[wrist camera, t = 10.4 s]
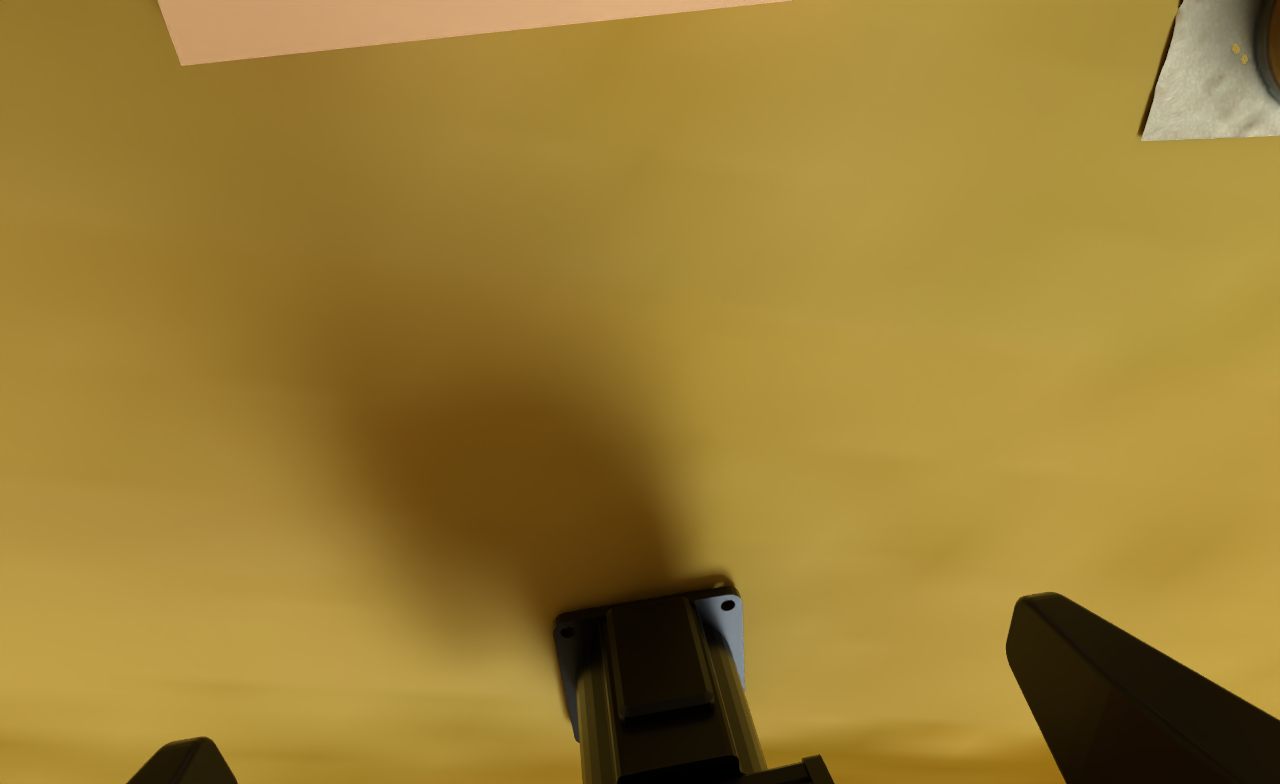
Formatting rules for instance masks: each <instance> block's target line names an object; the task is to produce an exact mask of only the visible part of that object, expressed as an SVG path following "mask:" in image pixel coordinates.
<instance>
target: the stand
mask: <svg viewBox="0 0 1280 784" xmlns="http://www.w3.org/2000/svg"><path fill="white" fill-rule="evenodd" d="M157 1H158V3H159V6H160V9H161V12H162V14H163V17H164V20H165V22H166V25H167V28H168V31H169V33H170V36H171V39H172V42H173V44H174V47H175V50H176V53H177V55H178V58H179V61H180V63H181V66H185V65H194V64H203V63H213V62H222V61H231V60H241V59H250V58H259V57H269V56H278V55H287V54H297V53H306V52H315V51H324V50H334V49H343V48H352V47H362V46H371V45H380V44H390V43H399V42H408V41H418V40H427V39H436V38H446V37H455V36H464V35H474V34H483V33H492V32H501V31H511V30H520V29H529V28H539V27H548V26H557V25H567V24H576V23H585V22H595V21H604V20H613V19H623V18H632V17H641V16H651V15H660V14H669V13H678V12H688V11H697V10H706V9H716V8H725V7H734V6H744V5H753V4H762V3H772V2H781V1H790V0H157Z"/></svg>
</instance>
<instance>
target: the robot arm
mask: <svg viewBox="0 0 1280 784" xmlns="http://www.w3.org/2000/svg"><path fill="white" fill-rule="evenodd" d="M727 600H730V601H728V602H724V601H727ZM565 627H572V628H569V629H564V628H565ZM553 636H554V641H555V646H556V651H557V655H558V660H559V665H560V670H561V675H562V679H563V684H564V689H565V694H566V699H567V703H568V708H569V713H570V718H571V722H572V727H573V732H574V737H575V739H576V741H577V742H579V743H580V752H581V766H582V780H583V784H834V782H833V780H832V778H831V776H830V774H829V772H828V770H827V767H826V765H825V763H824V761H823V759H822V757H821V755H820V754H819V755H814V756H810V757H806V758H802V762H799V763H794V764H790V765H786V766H781V767H777V768H772V769H768V768H767V765H766V762H765V759H764V755H763V752H762V749H761V746H760V742H759V739H758V736H757V733H756V729H755V726H754V723H753V720H752V716H751V713H750V710H749V706H748V703H747V700H746V697H745V685H744V647H743V609H742V600H741V597H740V595H739V592H738V590H737V589H736V588H734V587H731V586H725V587H719V588H713V589H707V590H701V591H695V592H689V593H683V594H677V595H671V596H665V597H658V598H652V599H646V600H640V601H634V602H628V603H622V604H616V605H610V606H604V607H598V608H592V609H586V610H580V611H574V612H568V613H564V614H560V615H559V616H557V617H556V618H555V619H554V621H553ZM1006 654H1007V659H1008V662H1009V665H1010V667H1011V670H1012V672H1013V674H1014V676H1015V678H1016V680H1017V682H1018V684H1019V686H1020V688H1021V691H1022V693H1023V695H1024V697H1025V699H1026V701H1027V703H1028V705H1029V707H1030V709H1031V711H1032V713H1033V716H1034V718H1035V720H1036V722H1037V724H1038V726H1039V728H1040V730H1041V732H1042V734H1043V736H1044V739H1045V741H1046V743H1047V745H1048V747H1049V749H1050V751H1051V753H1052V755H1053V757H1054V759H1055V761H1056V764H1057V766H1058V768H1059V770H1060V772H1061V774H1062V776H1063V778H1064V780H1065V782H1066V784H1280V720H1278V719H1277V718H1275V717H1273V716H1271V715H1270V714H1268V713H1266V712H1265V711H1263V710H1261V709H1259V708H1258V707H1256V706H1254V705H1252V704H1251V703H1249V702H1247V701H1245V700H1244V699H1242V698H1240V697H1238V696H1237V695H1235V694H1233V693H1232V692H1230V691H1228V690H1226V689H1225V688H1223V687H1221V686H1219V685H1218V684H1216V683H1214V682H1212V681H1211V680H1209V679H1207V678H1206V677H1204V676H1202V675H1200V674H1199V673H1197V672H1195V671H1193V670H1192V669H1190V668H1188V667H1186V666H1185V665H1183V664H1181V663H1179V662H1178V661H1176V660H1174V659H1173V658H1171V657H1169V656H1167V655H1166V654H1164V653H1162V652H1160V651H1159V650H1157V649H1155V648H1153V647H1152V646H1150V645H1148V644H1146V643H1145V642H1143V641H1141V640H1140V639H1138V638H1136V637H1134V636H1133V635H1131V634H1129V633H1127V632H1126V631H1124V630H1122V629H1120V628H1119V627H1117V626H1115V625H1114V624H1112V623H1110V622H1108V621H1107V620H1105V619H1103V618H1101V617H1100V616H1098V615H1096V614H1094V613H1093V612H1091V611H1089V610H1087V609H1086V608H1084V607H1082V606H1081V605H1079V604H1077V603H1075V602H1074V601H1072V600H1070V599H1068V598H1067V597H1065V596H1063V595H1061V594H1058V593H1055V592H1044V593H1038V594H1032V595H1027V596H1023V597H1020V598H1019V600H1018V601H1017V602H1016V604H1015V607H1014V611H1013V616H1012V620H1011V624H1010V629H1009V633H1008V637H1007V642H1006ZM126 784H238V783H237V780H236V778H235V776H234V775H233V773H232V771H231V770H230V768H229V766H228V765H227V763H226V761H225V760H224V758H223V756H222V754H221V753H220V751H219V749H218V748H217V746H216V744H215V743H214V742H213V740H211V739H209V738H207V737H196V738H190V739H184V740H178V741H174V742H170V743H168V744H166V745H164V746H163V747H162V748H160V749H159V750H158V751H157V752H156V753H155V754H154V755H153V756H152V757H151V758H150V759H149V760H148V761H147V762H146V763H145V764H144V765H143V766H142V767H141V768H140V770H139V771H138V772H137V773H136V774H135V775H134V776H133V777H132V778H131V779H130V780H129V781H128V782H127V783H126Z"/></svg>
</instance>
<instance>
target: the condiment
mask: <svg viewBox="0 0 1280 784" xmlns="http://www.w3.org/2000/svg"><path fill="white" fill-rule="evenodd" d="M1235 42H1236V43H1237V44H1238V45H1239V47H1240V53H1239V54H1237V55H1236V54H1235V53H1234V52H1233V51H1232V46H1233V43H1235ZM1244 54H1246V55H1247V57H1248V61H1247V63H1246V64H1242V61H1241V57H1242V55H1244ZM1276 135H1280V0H1183V3H1182V5H1181V6H1180V8H1178V12H1177V14H1176V25H1175V28H1174V33H1173V38H1172V41H1171V45H1170V48H1169V51H1168V55H1167V59H1166V61H1165V64H1164V66H1163V68H1162V71H1161V74H1160V76H1159V79H1158V82H1157V85H1156V88H1155V96H1154V100H1153V104H1152V107H1151V110H1150V114H1149V117H1148V120H1147V123H1146V126H1145V130H1144V133H1143V136H1142V139H1141V141H1153V140H1181V139H1214V138H1223V137H1254V136H1276Z"/></svg>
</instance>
